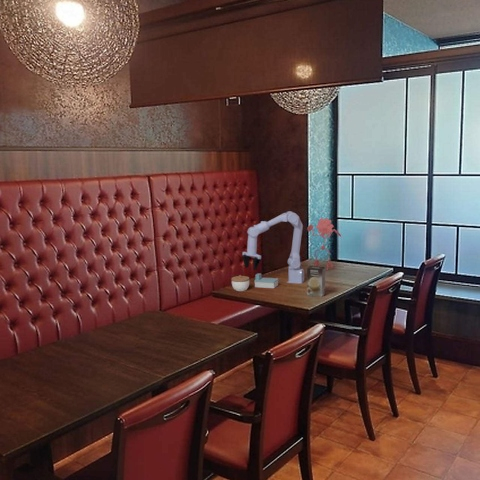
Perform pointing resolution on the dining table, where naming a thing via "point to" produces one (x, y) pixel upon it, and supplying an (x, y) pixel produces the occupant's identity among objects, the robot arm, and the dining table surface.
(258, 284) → the tub
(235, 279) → the lidded jar
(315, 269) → the coffee box
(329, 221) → the red flower sprig
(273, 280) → the lid
